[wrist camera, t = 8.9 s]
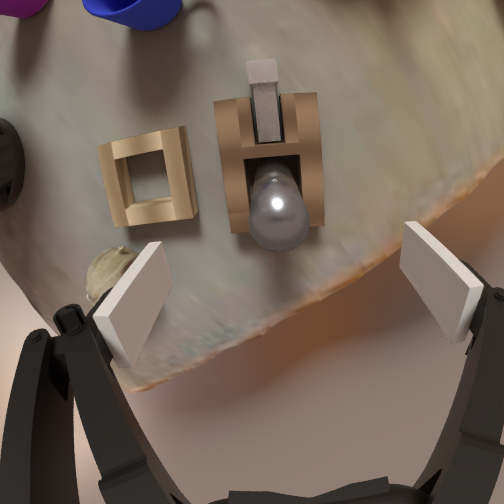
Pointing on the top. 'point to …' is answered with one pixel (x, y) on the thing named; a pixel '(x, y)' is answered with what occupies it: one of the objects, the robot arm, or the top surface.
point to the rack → (177, 170)
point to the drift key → (265, 97)
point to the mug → (135, 12)
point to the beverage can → (21, 7)
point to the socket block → (270, 152)
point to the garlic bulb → (107, 271)
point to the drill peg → (277, 208)
